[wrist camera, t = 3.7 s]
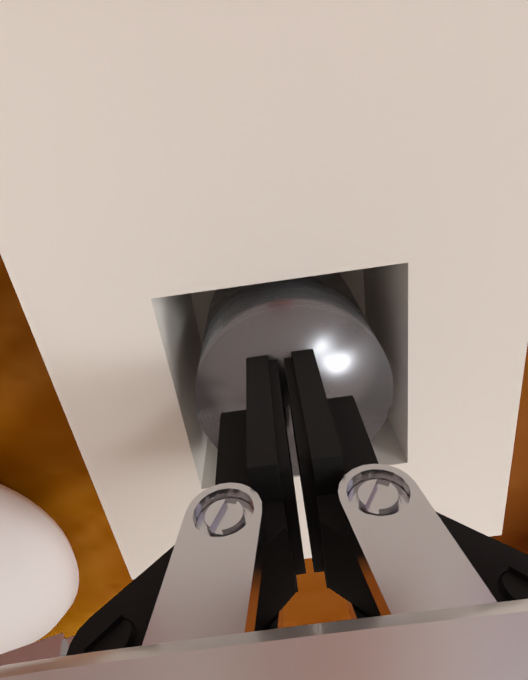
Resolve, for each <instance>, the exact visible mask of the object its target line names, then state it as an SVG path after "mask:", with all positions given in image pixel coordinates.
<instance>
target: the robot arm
mask: <svg viewBox="0 0 528 680" xmlns="http://www.w3.org/2000/svg"><path fill="white" fill-rule="evenodd" d="M291 355H292V357H291V358H284V366H285V373H286V380H287V388H288V395H289V403H290V410H291V417H292V425H293V432H294V439H295V447H296V454H297V461H298V467H299V474H300V481H301V487H302V494H303V501H304V507H305V514H306V521H307V527H308V534H309V541H310V547H311V554H312V561H313V567H314V572H321V571H324V573H325V579H326V584H327V588H330V589H332V590H333V591H334V592H336V593H337V594H339V595H340V596H342V597H343V598H345V599H346V600H347V601H348V607H349V612H350V615H351V618H352V620H343V621H335V622H327V623H319V624H310V625H302V626H294V627H286V628H283V612H282V608H283V607H284V606H285V604H286V603H287V602H288V601H289V600H290V598H291V597H292V596H293V595H294V594H295V593H296V592H298V588H297V578H296V575H297V574H305V573H306V570H305V562H304V554H303V547H302V539H301V532H300V524H299V516H298V509H297V501H296V494H295V486H294V478H293V471H292V463H291V456H290V448H289V441H288V434H287V427H286V420H285V413H284V406H283V399H282V392H281V385H280V378H279V371H278V364H277V359H276V360H268V355H264V356H256V357H249V358H246V410H239V411H231V412H224V413H221V416H220V427H219V440H218V452H217V465H216V478H215V486H212V487H210V488H207V489H206V490H204V491H203V492H201V493H200V494H198V495H197V496H196V497H195V498H194V499H193V500H192V501H191V503H190V504H189V506H188V508H187V510H186V512H185V515H184V518H183V522H182V525H181V528H180V531H179V534H178V537H177V540H176V543H175V545H174V546H173V547H172V548H170V549H169V550H168V551H167V552H166V553H165V554H163V555H162V556H161V557H160V558H159V559H158V560H156V561H155V562H154V563H153V564H152V565H151V566H149V567H148V568H147V569H146V570H145V571H144V572H143V573H141V574H140V575H139V576H138V577H137V578H136V579H134V580H133V581H132V582H131V583H130V584H129V585H127V586H126V587H125V588H124V589H123V590H122V591H121V592H119V593H118V594H117V595H116V596H115V597H114V598H112V599H111V600H110V601H109V602H108V603H107V604H105V605H104V606H103V607H102V608H101V609H100V610H98V611H97V612H96V613H95V614H94V615H93V616H92V617H90V618H89V619H88V620H87V621H86V623H85V624H84V625H83V626H82V627H81V628H80V629H79V630H78V632H77V633H76V635H75V636H72V637H69V638H65V636H64V635H63V633H60V634H57V635H55V636H52V637H49V638H46V639H43V640H40V641H37V642H35V643H32V644H29V645H26V646H23V647H20V648H17V649H14V650H12V651H9V652H6V653H3V654H0V680H528V555H526V554H524V553H522V552H520V551H518V550H516V549H514V548H512V547H510V546H507V545H505V544H503V543H501V542H499V541H497V540H495V539H493V538H491V537H488V536H486V535H484V534H482V533H480V532H478V531H476V530H474V529H472V528H469V527H467V526H465V525H463V524H461V523H459V522H457V521H455V520H453V519H450V518H448V517H446V516H444V515H442V514H440V513H438V512H436V511H435V510H434V509H433V507H432V506H431V504H430V503H429V501H428V500H427V498H426V497H425V495H424V494H423V493H422V491H421V490H420V488H419V487H418V485H417V484H416V482H415V481H414V480H413V479H412V478H411V477H410V476H409V475H408V474H407V473H405V472H403V471H402V470H400V469H398V468H396V467H392V466H389V465H385V464H379V463H378V460H377V458H376V455H375V452H374V450H373V447H372V444H371V442H370V439H369V436H368V434H367V431H366V428H365V426H364V423H363V420H362V418H361V415H360V413H359V410H358V407H357V405H356V402H355V399H354V397H353V396H352V395H349V396H342V397H335V398H327V397H326V393H325V390H324V386H323V383H322V379H321V376H320V372H319V369H318V365H317V362H316V358H315V354H314V351H313V349H307V350H300V351H292V352H291Z"/></svg>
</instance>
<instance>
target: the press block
mask: <svg viewBox="0 0 528 680" xmlns="http://www.w3.org/2000/svg"><path fill="white" fill-rule="evenodd" d="M0 254H1V257H2V259H3V262H4V264H5V267H6V269H7V272H8V274H9V277H10V279H11V282H12V284H13V286H14V289H15V291H16V294H17V296H18V299H19V301H20V304H21V306H22V309H23V311H24V314H25V316H26V319H27V321H28V324H29V326H30V329H31V331H32V333H33V336H34V338H35V341H36V343H37V346H38V348H39V351H40V353H41V356H42V358H43V361H44V363H45V366H46V368H47V371H48V373H49V376H50V378H51V380H52V383H53V385H54V388H55V390H56V393H57V395H58V398H59V400H60V403H61V405H62V408H63V410H64V413H65V415H66V418H67V420H68V423H69V425H70V428H71V430H72V432H73V435H74V437H75V440H76V442H77V445H78V447H79V450H80V452H81V455H82V457H83V460H84V462H85V465H86V467H87V470H88V472H89V475H90V477H91V479H92V482H93V484H94V487H95V489H96V492H97V494H98V497H99V499H100V502H101V504H102V507H103V509H104V512H105V514H106V517H107V519H108V522H109V524H110V526H111V529H112V531H113V534H114V536H115V539H116V541H117V544H118V546H119V549H120V551H121V554H122V556H123V559H124V561H125V564H126V566H127V569H128V571H129V574H130V576H131V578H132V579H136V578H137V577H138V576H139V575H140V574H141V573H143V572H144V571H145V570H146V569H147V568H148V567H149V566H151V565H152V564H153V563H154V562H155V561H156V560H158V559H159V558H160V557H161V556H162V555H163V554H165V553H166V552H167V551H168V550H169V549H170V548H172V547H173V546H174V545H175V543H176V540H177V537H178V534H179V531H180V528H181V525H182V522H183V518H184V515H185V512H186V510H187V508H188V506H189V504H190V503H191V501H192V500H193V499H194V498H195V497H196V496H197V495H198V494H200V493H201V492H203V491H204V490H206V489H207V488H210V487H212V486H215V478H216V465H217V452H218V449H217V448H216V447H215V446H214V444H213V443H212V442H211V441H210V440H209V438H208V437H207V436H206V434H205V433H204V431H203V429H202V427H201V425H200V423H199V420H198V417H197V414H196V410H195V404H194V387H195V381H196V375H197V370H198V364H199V359H200V354H201V349H202V343H203V338H204V333H205V327H206V322H207V317H208V312H209V307H210V304H211V300H212V298H213V295H214V293H215V291H216V290H217V289H224V288H231V287H238V286H245V285H252V284H259V283H266V282H273V281H280V280H288V279H295V278H302V277H309V276H316V275H323V274H330V273H338V274H339V275H340V276H341V277H342V278H343V280H344V281H345V283H346V284H347V286H348V287H349V289H350V291H351V293H352V294H353V296H354V298H355V300H356V302H357V303H358V305H359V307H360V309H361V311H362V313H363V314H364V316H365V318H366V320H367V322H368V323H369V325H370V327H371V329H372V331H373V333H374V334H375V336H376V338H377V340H378V342H379V343H380V345H381V347H382V349H383V351H384V353H385V354H386V357H387V359H388V361H389V364H390V367H391V371H392V375H393V385H394V389H393V399H392V404H391V408H390V411H389V413H388V416H387V419H386V420H385V422H384V424H383V426H382V428H381V429H380V431H379V432H378V433H377V435H376V436H375V437H374V438H373V440H372V441H371V444H372V447H373V450H374V452H375V455H376V458H377V460H378V463H379V464H385V465H389V466H392V467H396V468H398V469H400V470H402V471H403V472H405V473H407V474H408V475H409V476H410V477H411V478H412V479H413V480H414V481H415V482H416V484H417V485H418V487H419V488H420V490H421V491H422V493H423V494H424V495H425V497H426V498H427V500H428V501H429V503H430V504H431V506H432V507H433V509H434V510H435V511H436V512H438V513H440V514H442V515H444V516H446V517H448V518H450V519H453V520H455V521H457V522H459V523H461V524H463V525H465V526H467V527H469V528H472V529H474V530H476V531H478V532H480V533H482V534H484V535H486V536H488V537H489V536H498V535H502V529H503V522H504V514H505V507H506V499H507V492H508V484H509V477H510V470H511V462H512V455H513V447H514V440H515V432H516V425H517V418H518V410H519V403H520V395H521V388H522V380H523V373H524V365H525V358H526V351H527V343H528V0H0ZM293 478H294V486H295V494H296V501H297V509H298V516H299V524H300V532H301V539H302V547H303V554H304V559H306V558H312V554H311V547H310V541H309V534H308V527H307V521H306V514H305V507H304V501H303V494H302V487H301V481H300V475H293Z"/></svg>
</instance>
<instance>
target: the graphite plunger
mask: <svg viewBox="0 0 528 680" xmlns="http://www.w3.org/2000/svg"><path fill="white" fill-rule="evenodd" d="M307 349H313V351H314V354H315V358H316V362H317V365H318V369H319V372H320V376H321V379H322V383H323V386H324V390H325V393H326V397H327V398H335V397H342V396H349V395H352V396H353V397H354V399H355V402H356V405H357V407H358V410H359V413H360V415H361V418H362V420H363V423H364V426H365V428H366V431H367V434H368V436H369V439H370V442H371V441H372V440H373V438H374V437H375V436H376V435H377V433H378V432H379V431H380V429H381V428H382V426H383V424H384V422H385V420H386V419H387V416H388V413H389V411H390V408H391V404H392V399H393V389H394V385H393V375H392V371H391V367H390V364H389V361H388V359H387V357H386V354H385V353H384V351H383V349H382V347H381V345H380V343H379V342H378V340H377V338H376V336H375V334H374V333H373V331H372V329H371V327H370V325H369V323H368V322H367V320H366V318H365V316H364V314H363V313H362V311H361V309H360V307H359V305H358V303H357V302H356V300H355V298H354V296H353V294H352V293H351V291H350V289H349V287H348V286H347V284H346V283H345V281H344V280H343V278H342V277H341V276H340V275H339V274H338V273H330V274H323V275H316V276H309V277H302V278H295V279H288V280H280V281H273V282H266V283H259V284H252V285H245V286H238V287H231V288H224V289H217V290H216V291H215V293H214V295H213V298H212V300H211V304H210V307H209V312H208V317H207V322H206V327H205V333H204V338H203V343H202V349H201V354H200V359H199V364H198V370H197V375H196V381H195V387H194V404H195V410H196V414H197V417H198V420H199V423H200V425H201V427H202V429H203V431H204V433H205V434H206V436H207V437H208V438H209V440H210V441H211V442H212V443H213V444H214V446H215V447H216V448H217V449H218V440H219V427H220V416H221V413H224V412H231V411H239V410H246V358H249V357H256V356H264V355H268V360H276V359H277V364H278V371H279V378H280V385H281V392H282V399H283V406H284V413H285V420H286V427H287V434H288V441H289V448H290V456H291V463H292V471H293V475H300V474H299V467H298V461H297V454H296V447H295V439H294V432H293V425H292V417H291V410H290V403H289V395H288V388H287V380H286V373H285V366H284V358H291V357H292V355H291V352H292V351H300V350H307Z"/></svg>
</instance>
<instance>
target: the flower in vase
mask: <svg viewBox="0 0 528 680" xmlns="http://www.w3.org/2000/svg"><path fill="white" fill-rule="evenodd" d="M78 586H79V571H78V566H77V562H76V559H75V556H74V553H73V550H72V548H71V545H70V543H69V540H68V539H67V537H66V535H65V534H64V532H63V531H62V529H61V528H60V527H59V526H58V524H57V523H56V522H55V521H54V520H53V519H52V518H51V517H50V516H49V515H48V514H47V513H46V512H45V511H44V510H43V509H42V508H40V507H39V506H38V505H36V504H35V503H34V502H33V501H31V500H30V499H28V498H26V497H25V496H23V495H21V494H20V493H18V492H16V491H14V490H12V489H10V488H8V487H6V486H4V485H2V484H0V654H3V653H6V652H9V651H12V650H14V649H17V648H20V647H23V646H26V645H29V644H32V643H33V642H35V641H37V640H39V639H40V638H42V637H43V636H45V635H46V634H47V633H49V632H50V631H51V630H52V629H53V628H54V627H55V626H56V624H57V623H58V622H59V621H60V620H61V618H62V617H63V616H64V615H65V613H66V612H67V611H68V610H69V608H70V607H71V605H72V604H73V602H74V599H75V597H76V595H77V591H78Z"/></svg>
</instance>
